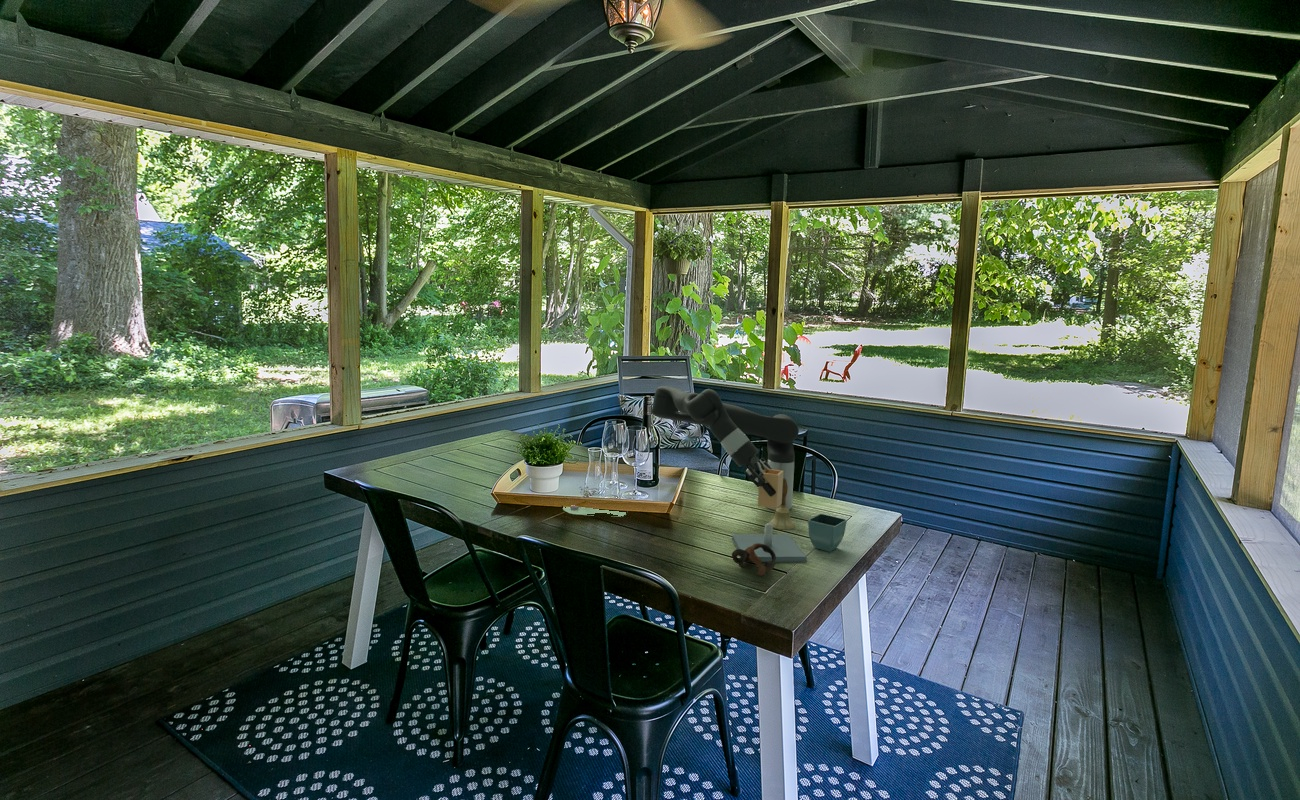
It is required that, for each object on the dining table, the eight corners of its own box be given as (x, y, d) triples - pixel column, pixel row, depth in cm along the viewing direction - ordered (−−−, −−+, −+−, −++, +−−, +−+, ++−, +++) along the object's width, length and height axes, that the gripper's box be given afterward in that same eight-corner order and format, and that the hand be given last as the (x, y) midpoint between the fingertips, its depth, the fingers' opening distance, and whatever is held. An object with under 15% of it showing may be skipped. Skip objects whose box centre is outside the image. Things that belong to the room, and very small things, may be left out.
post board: (731, 538, 206) (733, 513, 205) (788, 538, 207) (790, 513, 206) (744, 562, 188) (745, 534, 187) (806, 561, 190) (808, 534, 188)
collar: (757, 505, 194) (759, 472, 193) (763, 500, 199) (764, 468, 198) (776, 508, 192) (778, 475, 190) (781, 503, 197) (783, 470, 195)
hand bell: (794, 530, 214) (797, 483, 212) (768, 528, 216) (771, 481, 213) (794, 522, 222) (797, 476, 220) (769, 520, 224) (771, 474, 221)
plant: (640, 505, 238) (641, 481, 237) (616, 523, 219) (616, 497, 218) (578, 496, 247) (578, 472, 246) (550, 512, 229) (550, 487, 227)
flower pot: (818, 540, 206) (820, 512, 205) (845, 547, 201) (847, 519, 199) (805, 548, 199) (807, 519, 198) (833, 556, 194) (835, 526, 192)
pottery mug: (762, 562, 190) (774, 542, 186) (769, 588, 182) (782, 569, 178) (723, 554, 187) (735, 534, 183) (729, 581, 179) (741, 561, 175)
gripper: (738, 450, 205) (773, 493, 202) (722, 460, 192) (760, 506, 189) (755, 435, 202) (792, 478, 199) (740, 444, 189) (779, 490, 186)
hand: (776, 491), depth 194 cm, fingers closed on collar, 5 cm apart
